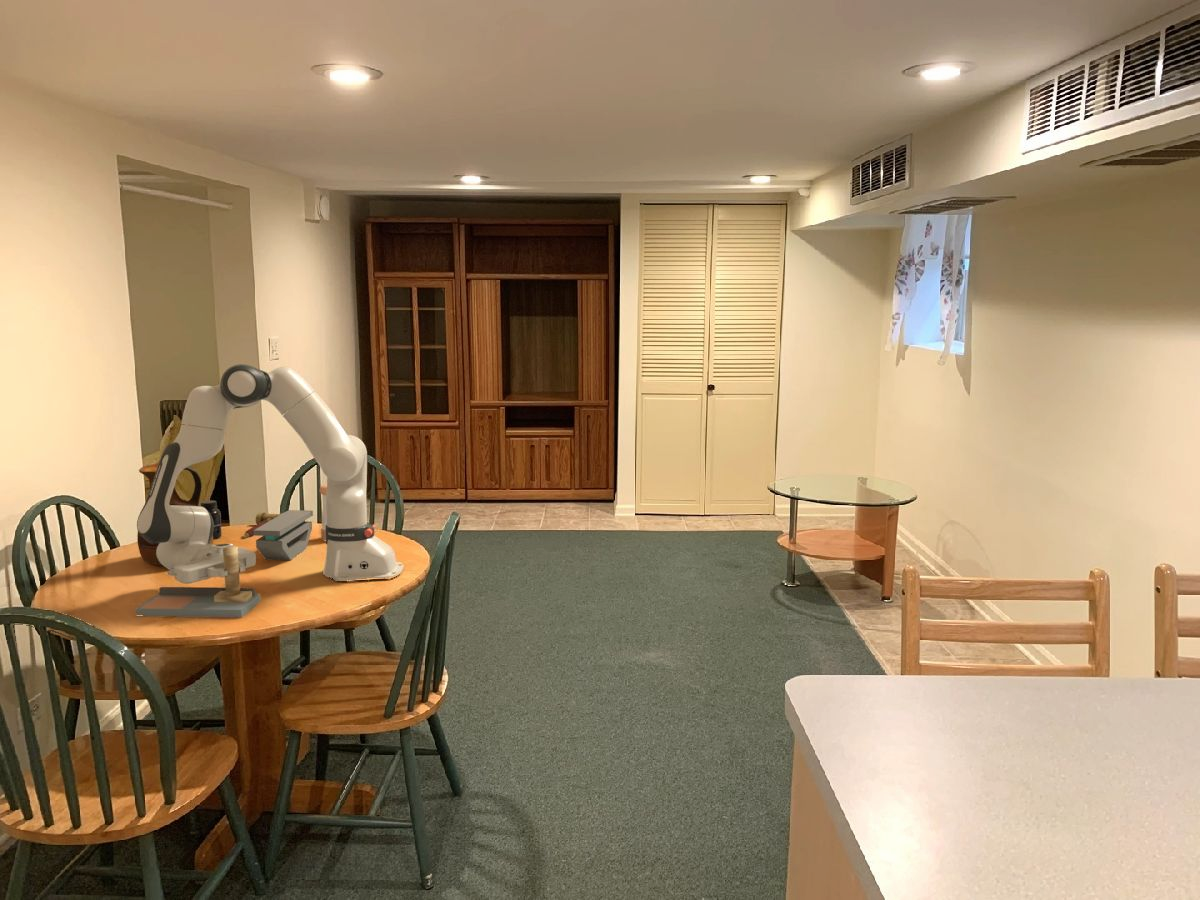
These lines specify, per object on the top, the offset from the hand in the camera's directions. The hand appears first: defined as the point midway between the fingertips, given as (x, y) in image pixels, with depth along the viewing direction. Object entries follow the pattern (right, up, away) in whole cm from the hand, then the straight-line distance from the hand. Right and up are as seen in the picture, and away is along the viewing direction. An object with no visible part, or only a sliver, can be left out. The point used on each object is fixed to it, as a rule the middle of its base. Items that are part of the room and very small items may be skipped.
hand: (233, 571), depth 221 cm
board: (-9, -9, +1) cm, 13 cm away
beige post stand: (-1, -7, +2) cm, 8 cm away
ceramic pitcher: (-34, -3, +41) cm, 53 cm away
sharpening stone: (-4, -2, +48) cm, 48 cm away
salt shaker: (+5, +1, +66) cm, 66 cm away
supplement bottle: (-35, +2, +66) cm, 74 cm away
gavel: (-22, +3, +75) cm, 78 cm away
